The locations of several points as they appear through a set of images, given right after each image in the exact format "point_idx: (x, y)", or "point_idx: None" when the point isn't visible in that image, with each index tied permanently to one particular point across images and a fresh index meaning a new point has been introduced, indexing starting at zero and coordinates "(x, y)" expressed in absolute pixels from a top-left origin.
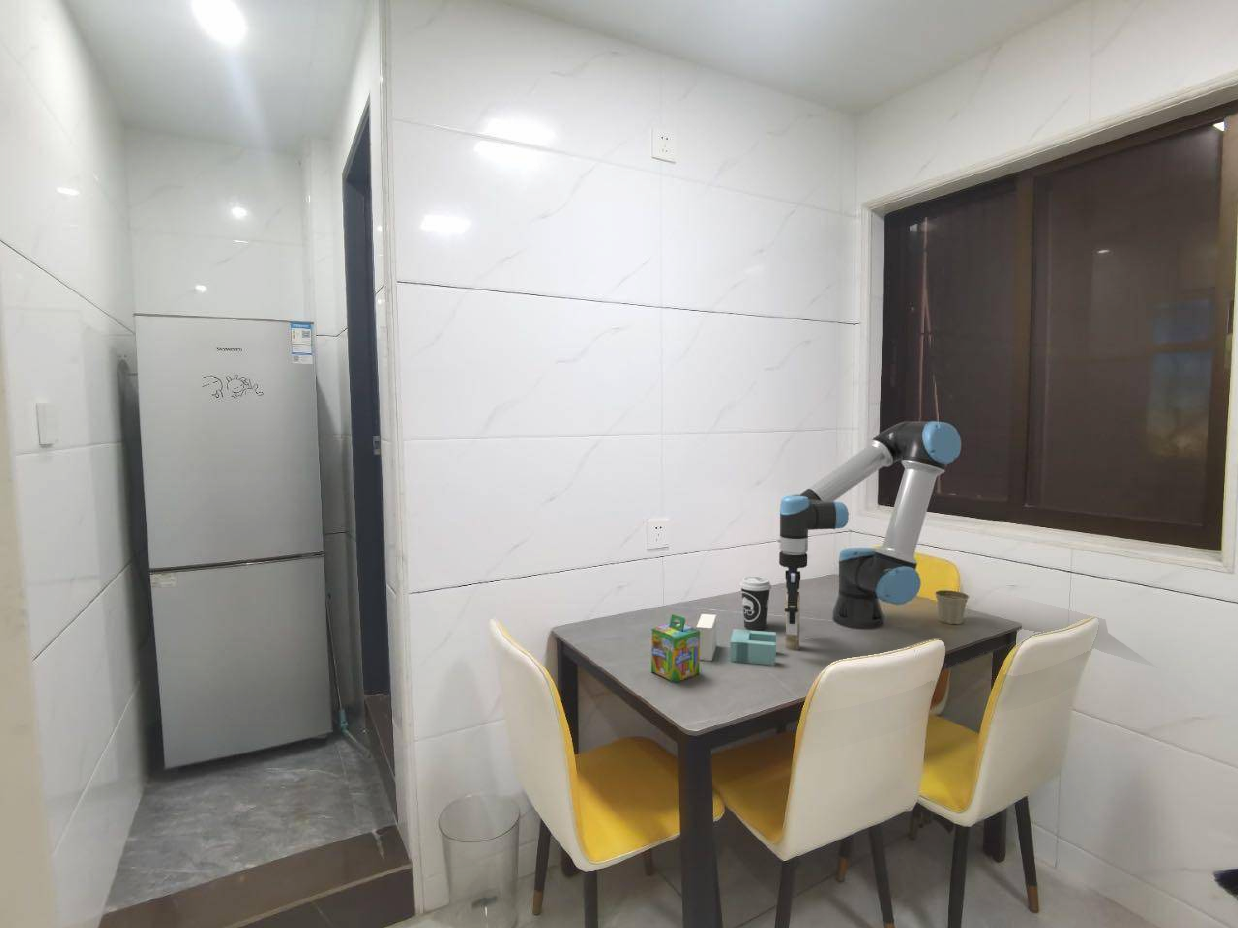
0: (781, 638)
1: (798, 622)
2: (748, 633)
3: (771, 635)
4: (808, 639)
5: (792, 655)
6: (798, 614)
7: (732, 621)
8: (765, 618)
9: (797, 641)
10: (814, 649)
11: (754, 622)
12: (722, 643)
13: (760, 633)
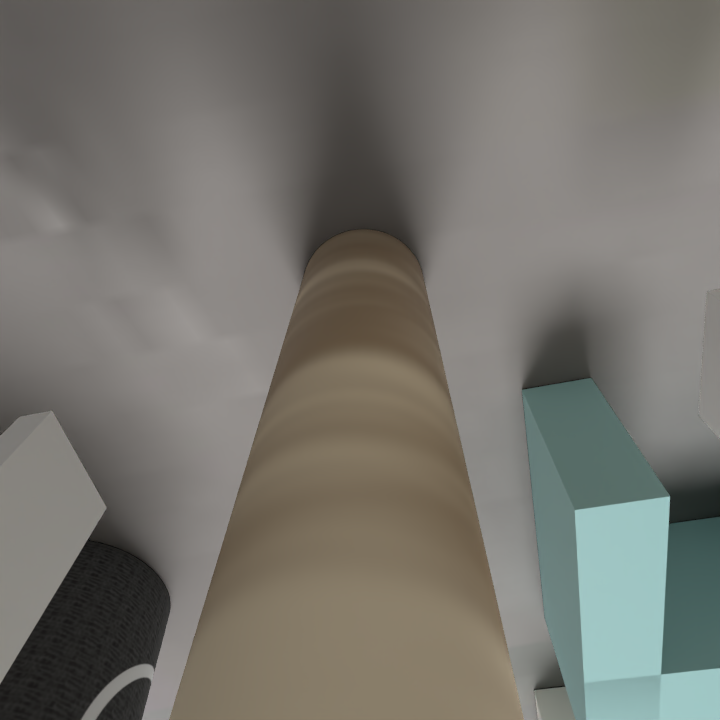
0: (199, 408)
1: (394, 363)
2: (669, 678)
3: (665, 525)
4: (71, 189)
5: (560, 250)
6: (401, 450)
7: None
8: (49, 616)
9: (397, 264)
10: (315, 71)
11: (148, 645)
12: None
13: (643, 610)
